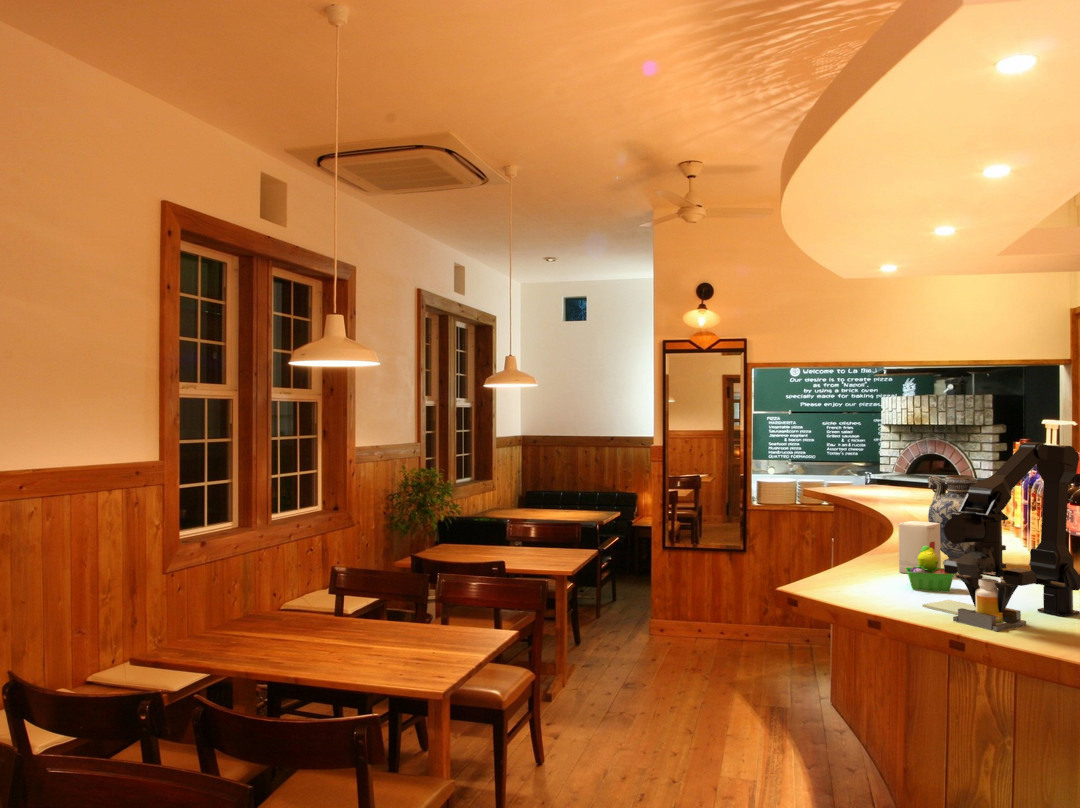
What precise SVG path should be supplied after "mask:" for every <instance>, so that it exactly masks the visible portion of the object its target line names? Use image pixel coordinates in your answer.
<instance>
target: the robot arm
mask: <svg viewBox="0 0 1080 808" xmlns="http://www.w3.org/2000/svg"><path fill="white" fill-rule="evenodd" d="M1079 454H1080V453H1079V452H1078V451H1077V450H1076V449H1075V447H1074V446H1071V445H1061V444H1060V445H1055V444H1053V445H1052V444H1051V445H1050V444H1044V443H1041V442H1023V443H1021V444H1019V446H1018V448H1017V450H1016V451H1015V452H1014V454H1012V456H1010V457H1009V458H1008V460H1006V461H1005V462H1004V463H1003V464H1002V465H1001V466H1000V467H999V468H998V469H997V470H996V471H995V472H994V473H993V474H992V475H990V476H988V477H986V478H982V479H981V480H977V482H976V483H974V484H973V485H972V486H971V487H970V488H969V490H968V492H967V495H966V497H965V499H964V501H963V503H962V505H961V507H960V509H959V511H958V513H952V518H951V519H949V520H948V521H947V522H946V524H945V527H944V533H945V536H946V537H947V539H948V540H949V541H950V542H952V543H954V544H959V543H970V542H973V543H974V544H972V545H970V547H969V553H968V554H965V555H963V556H962V557H961V558H959V559H952V560H947V561H946V562H945V564H943V568H944V572H946V573H951V574H954V575H955V577H956V579H959V580H961V581H962V582H963V584H964V585H965V586H966V588H967V590H968V594H969V596H970V597H971V598H970V599H971V601H972V603H973V605H974V606H975V607H976V604H975V591H976V590H977V589H978V588H980V586H979V584H978V580H979V579H983V576H989V577H995V578H999V579H1000V582H999V581H998V583H995V585H996V587H997V589H998V608H999V612H1000V613H1003V612H1004V610H1005V608H1007V606H1008V604H1009V602H1010V600H1011V598H1012V596H1013V595H1014V593H1015V592H1016V590H1017V588H1018V587H1019V586H1021V587H1022V586H1023V587H1025V586H1029V585H1041V586H1043V587H1042V588H1043V594H1042V599H1043V601H1042V602H1043V607H1040V608H1037V611H1038V612H1042V613H1045V614H1051V615H1055V616H1060V617H1069V616H1074V615H1078V614H1080V610H1075V609H1074V591H1080V574H1079V572H1078V571H1077V570H1076V568H1075V567H1074V566H1075V565H1074V556H1073V555H1072V553H1071V551H1070V550H1069V548H1068V547H1067V545H1066V543H1067V542H1066V540H1067V539H1066V537H1067V519H1068V499H1069V484H1070V482H1071V481H1072V479H1073V478H1074V477H1075V476H1076V475H1077V472H1078V467H1079V461H1080V455H1079ZM1035 466H1036V467H1035ZM1034 467H1035V468H1036V472H1038V475H1039V477H1040V478H1041V480H1042V481H1043V489H1042V507H1041V529H1040V530H1041V531H1040V543H1038V545H1037V546H1036V547H1035V548H1030V551H1029V555H1030V556H1029V557H1030V558H1029V559H1030V560H1029V563H1028V565H1029V567H1030V569H1026V568H1019V567H1015V568H1009V569H1007V563H1003V551H1006V550H1007V545H1004V544H1003V531H1002V530H1003V529H1002V526H1003V525H1002V523H1003V521H1007V520H1009V516H1007V514H1005V513H1004V512H1003V510H1004V509H1005V508H1006V506H1007V505H1008V504H1009V502H1010V501H1011V500H1012V491H1013V489H1014V488H1015V487H1016V486H1017V485H1018V484H1019V483H1020V482H1021V481H1022V480H1023V479H1024V478H1025V477H1026V475H1028V474H1029V473H1030V471H1031V470H1032V469H1034Z"/></svg>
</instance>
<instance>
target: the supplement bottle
mask: <svg viewBox="0 0 1080 808" xmlns="http://www.w3.org/2000/svg"><path fill="white" fill-rule="evenodd" d="M998 582H999V580H997V579H994V578H993V579H992V578H982V579H979V580H978V584H979V586H980V588H978V589H977V590H976V591H975V604H976V611H977V612H981V613H986V614H990V615H995V616H996V625H1000V624H1004V622H1003V613H1000V612H999V608H998V588H997V587H996V585H995V583H998Z"/></svg>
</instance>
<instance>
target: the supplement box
mask: <svg viewBox="0 0 1080 808" xmlns="http://www.w3.org/2000/svg"><path fill="white" fill-rule="evenodd" d="M923 546H929V547H930V548H932V549H934V551H935V553H936V555H937V556H938V558H939V563H938V565H937V567H938V568H942V567H941V566H942V565H941V561H942V560H941V559H942V558H941V556H942V555H941V553H942V552H941V550H940V523H932V522H929V521H920V520H908V521H904V522H899V523H898V572H899V573H900V574H901V573H902V574H906V575H908V573H907V571H906V568H913V567H916V566H919V564H918V561H917V558H918V555H919V554H920V553H921V552H920V551H921V548H922V547H923Z"/></svg>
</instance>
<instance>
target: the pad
mask: <svg viewBox="0 0 1080 808" xmlns="http://www.w3.org/2000/svg"><path fill="white" fill-rule="evenodd" d="M921 606H922V608H926V609H931V610H935V611H940V612H942V613H943V612H944V613H948V614H952V615H955V616H958V609H961V608H963V609H968V610H972V611H976V607H975V606H974V604H971V603H966V602H960V601H957V600H952V599H946V600H939V601H935V602H934V601H933V602H928V603H923V604H922V605H921Z"/></svg>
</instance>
